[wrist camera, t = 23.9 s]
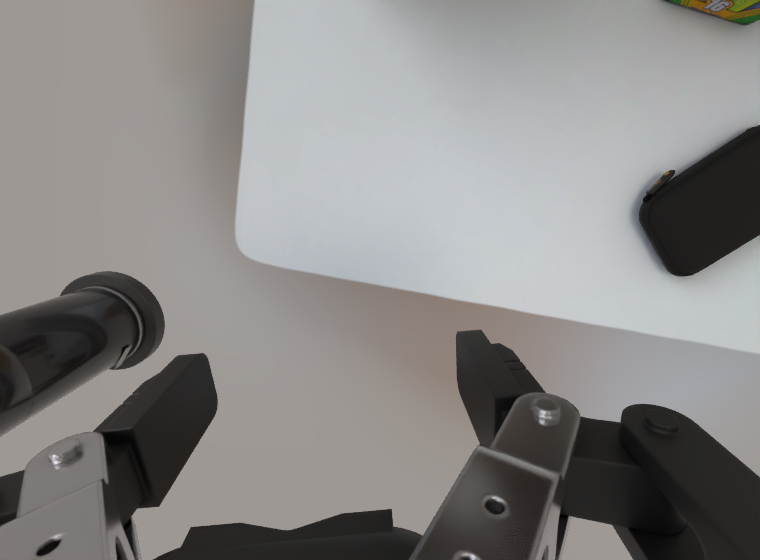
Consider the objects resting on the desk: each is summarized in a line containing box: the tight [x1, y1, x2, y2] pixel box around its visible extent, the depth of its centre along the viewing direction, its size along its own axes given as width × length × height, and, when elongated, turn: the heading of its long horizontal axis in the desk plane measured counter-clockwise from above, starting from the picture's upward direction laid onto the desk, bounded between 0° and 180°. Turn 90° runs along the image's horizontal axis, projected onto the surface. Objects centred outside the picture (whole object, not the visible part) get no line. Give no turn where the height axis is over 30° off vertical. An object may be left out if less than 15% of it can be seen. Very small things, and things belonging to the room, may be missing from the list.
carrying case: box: [639, 125, 760, 276], centre depth 36 cm, size 11×3×15 cm
